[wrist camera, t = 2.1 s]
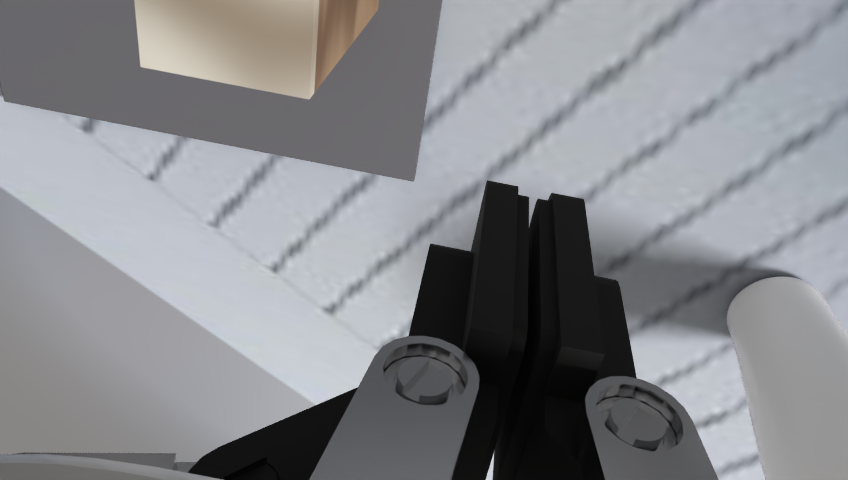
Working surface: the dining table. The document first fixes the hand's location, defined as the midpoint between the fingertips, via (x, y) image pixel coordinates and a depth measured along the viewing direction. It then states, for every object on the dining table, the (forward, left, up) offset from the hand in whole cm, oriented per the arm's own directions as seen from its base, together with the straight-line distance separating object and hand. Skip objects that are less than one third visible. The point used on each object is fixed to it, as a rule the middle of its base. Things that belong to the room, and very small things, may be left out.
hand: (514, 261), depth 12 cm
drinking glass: (+16, +18, -24) cm, 34 cm away
